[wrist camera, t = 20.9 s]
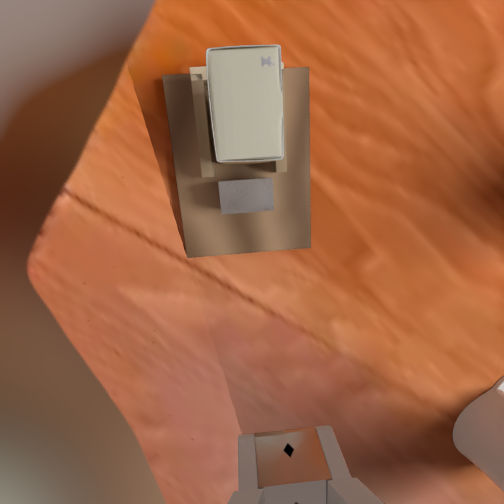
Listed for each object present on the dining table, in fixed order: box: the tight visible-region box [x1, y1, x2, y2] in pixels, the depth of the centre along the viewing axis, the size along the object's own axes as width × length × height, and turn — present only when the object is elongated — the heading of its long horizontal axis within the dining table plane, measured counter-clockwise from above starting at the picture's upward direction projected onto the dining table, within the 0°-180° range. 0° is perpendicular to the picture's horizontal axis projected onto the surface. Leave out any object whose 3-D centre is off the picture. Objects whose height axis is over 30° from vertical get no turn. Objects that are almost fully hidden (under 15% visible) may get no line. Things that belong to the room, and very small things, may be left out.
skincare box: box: [206, 45, 284, 165], centre depth 22 cm, size 6×4×12 cm
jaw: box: [218, 178, 274, 215], centre depth 27 cm, size 5×3×4 cm, turn 94°
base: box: [162, 62, 311, 258], centre depth 28 cm, size 14×18×4 cm
